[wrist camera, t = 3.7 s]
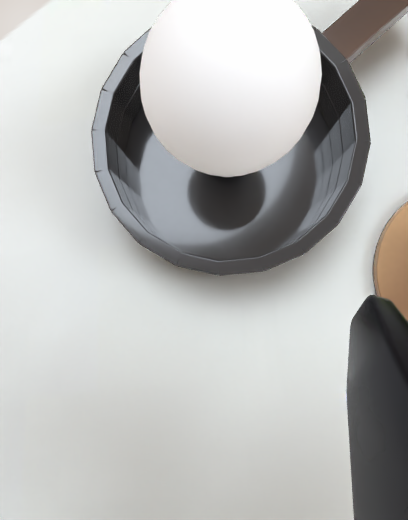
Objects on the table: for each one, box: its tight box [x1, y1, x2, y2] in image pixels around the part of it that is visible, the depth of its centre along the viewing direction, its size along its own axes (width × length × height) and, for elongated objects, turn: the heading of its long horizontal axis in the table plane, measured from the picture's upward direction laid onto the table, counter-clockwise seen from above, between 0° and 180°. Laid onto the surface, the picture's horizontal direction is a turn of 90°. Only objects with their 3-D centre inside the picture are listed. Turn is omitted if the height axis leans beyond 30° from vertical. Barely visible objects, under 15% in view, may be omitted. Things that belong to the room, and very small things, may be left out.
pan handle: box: [322, 0, 408, 64], centre depth 18 cm, size 2×6×1 cm, turn 131°
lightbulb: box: [140, 0, 322, 177], centre depth 15 cm, size 6×6×11 cm
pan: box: [91, 25, 371, 276], centre depth 19 cm, size 13×13×4 cm
